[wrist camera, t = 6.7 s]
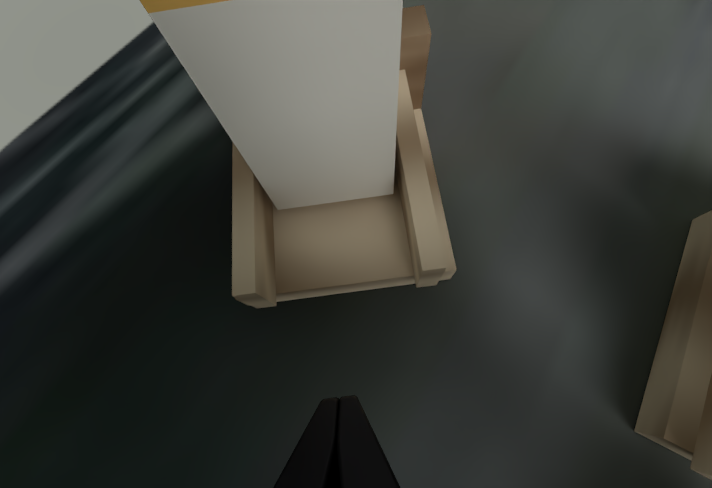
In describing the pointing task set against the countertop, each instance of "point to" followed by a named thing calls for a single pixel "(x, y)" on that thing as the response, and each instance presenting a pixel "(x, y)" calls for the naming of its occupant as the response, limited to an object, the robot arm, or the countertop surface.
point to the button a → (297, 88)
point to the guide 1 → (349, 215)
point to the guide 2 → (685, 360)
